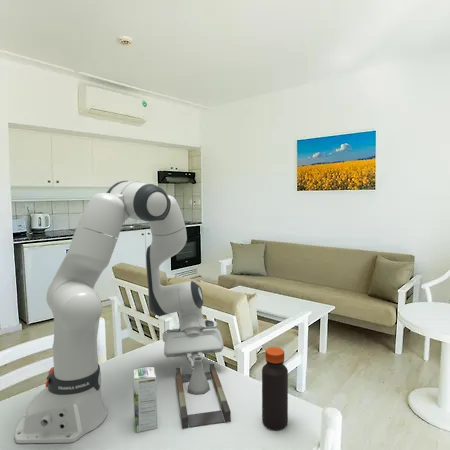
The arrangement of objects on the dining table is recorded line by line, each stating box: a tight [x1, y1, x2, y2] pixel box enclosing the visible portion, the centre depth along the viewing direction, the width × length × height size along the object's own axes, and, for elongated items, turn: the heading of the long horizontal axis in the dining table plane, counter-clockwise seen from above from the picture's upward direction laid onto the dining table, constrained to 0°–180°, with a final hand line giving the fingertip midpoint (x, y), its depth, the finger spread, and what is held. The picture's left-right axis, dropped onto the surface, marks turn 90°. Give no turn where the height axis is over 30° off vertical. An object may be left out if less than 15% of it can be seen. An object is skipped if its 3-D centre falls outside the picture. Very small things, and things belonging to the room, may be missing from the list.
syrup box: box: [133, 366, 158, 433], centre depth 95 cm, size 6×6×14 cm
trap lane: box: [175, 363, 232, 429], centre depth 107 cm, size 13×27×3 cm, turn 11°
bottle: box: [261, 346, 289, 431], centre depth 94 cm, size 7×7×20 cm
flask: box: [187, 355, 211, 395], centre depth 112 cm, size 7×7×10 cm
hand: (195, 367), depth 117 cm, fingers closed
